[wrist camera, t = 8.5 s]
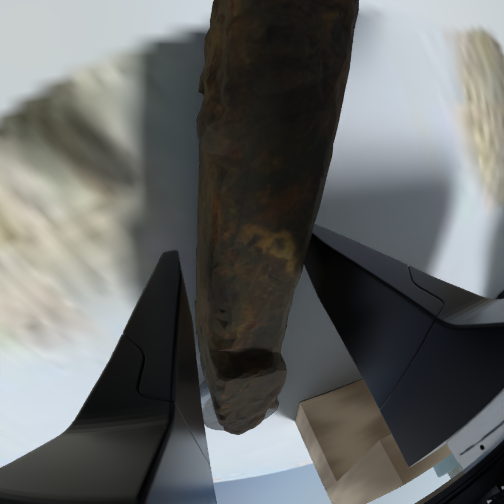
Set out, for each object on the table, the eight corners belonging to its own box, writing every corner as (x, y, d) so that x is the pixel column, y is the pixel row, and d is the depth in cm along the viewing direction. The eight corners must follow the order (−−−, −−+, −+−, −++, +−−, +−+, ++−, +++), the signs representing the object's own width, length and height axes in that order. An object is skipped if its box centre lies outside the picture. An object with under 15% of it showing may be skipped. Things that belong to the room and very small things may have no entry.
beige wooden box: (452, 279, 19) (536, 376, 11) (398, 379, 26) (446, 454, 19) (315, 327, 16) (403, 485, 9) (295, 421, 24) (337, 515, 17)
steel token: (247, 355, 16) (258, 385, 15) (278, 382, 19) (289, 407, 17) (181, 389, 16) (188, 419, 15) (221, 410, 19) (228, 435, 18)
